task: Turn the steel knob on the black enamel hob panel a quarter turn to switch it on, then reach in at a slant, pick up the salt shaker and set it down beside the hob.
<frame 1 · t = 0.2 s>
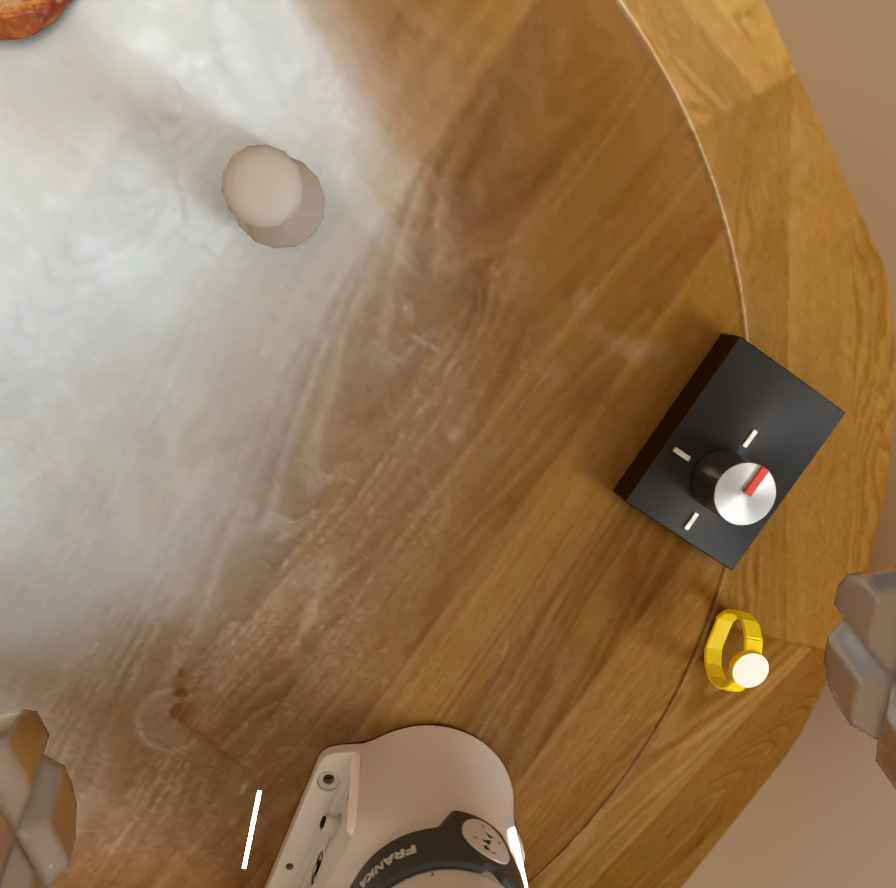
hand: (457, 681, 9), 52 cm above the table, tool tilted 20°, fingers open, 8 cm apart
salt shaker: (281, 204, 57), on the table
hob: (718, 448, 64), on the table
watch: (715, 633, 67), on the table
hob knob: (733, 487, 59), point 5 cm above the table, hinge at 0.0°
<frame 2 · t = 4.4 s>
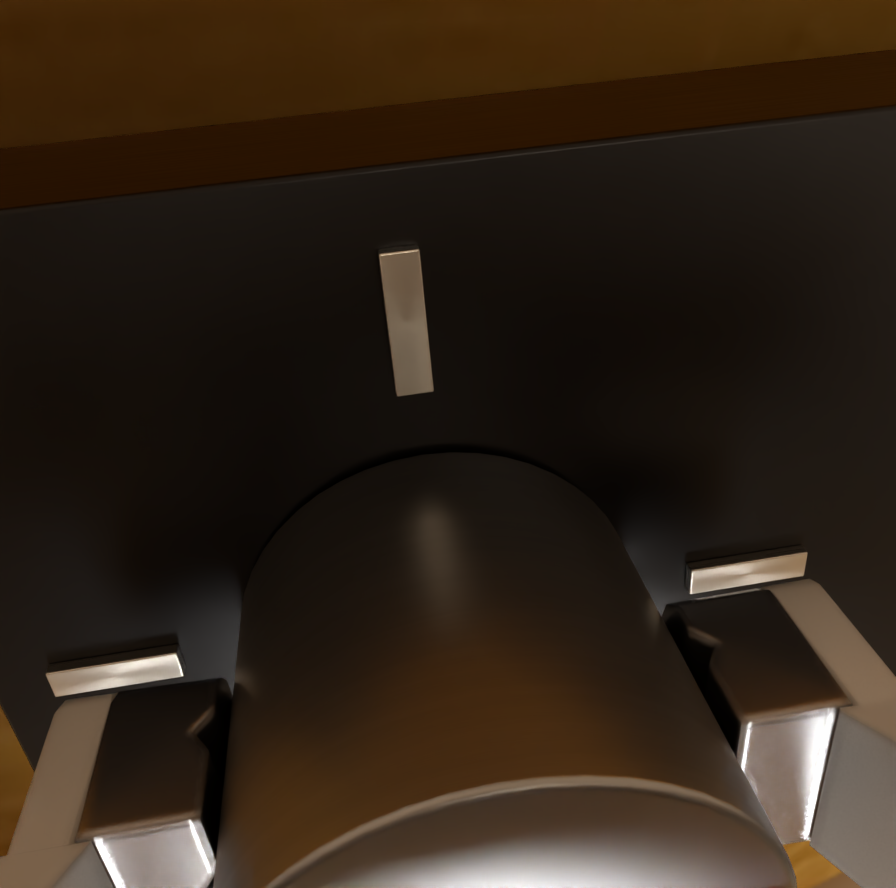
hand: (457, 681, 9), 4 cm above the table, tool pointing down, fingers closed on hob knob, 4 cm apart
hob: (547, 454, 12), on the table
hob knob: (471, 774, 8), point 5 cm above the table, hinge at 0.0°, touching gripper
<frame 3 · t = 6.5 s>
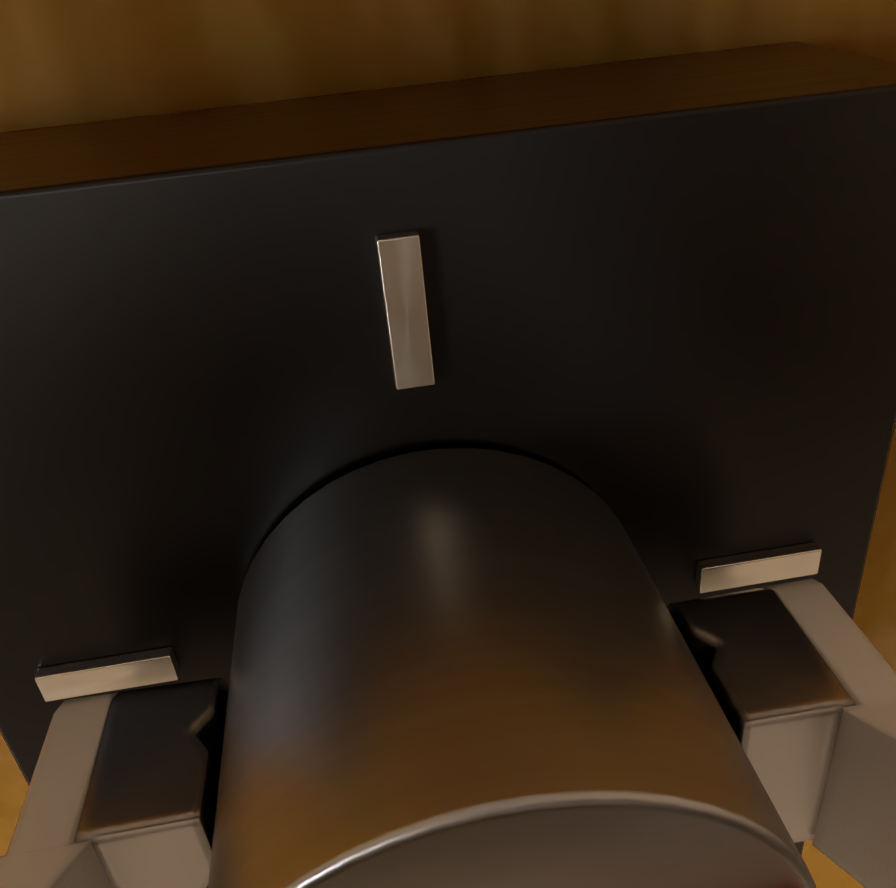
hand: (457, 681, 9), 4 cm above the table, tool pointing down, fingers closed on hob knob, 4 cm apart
hob: (427, 579, 13), on the table
hob knob: (475, 782, 7), point 5 cm above the table, hinge at 92.8°, touching gripper
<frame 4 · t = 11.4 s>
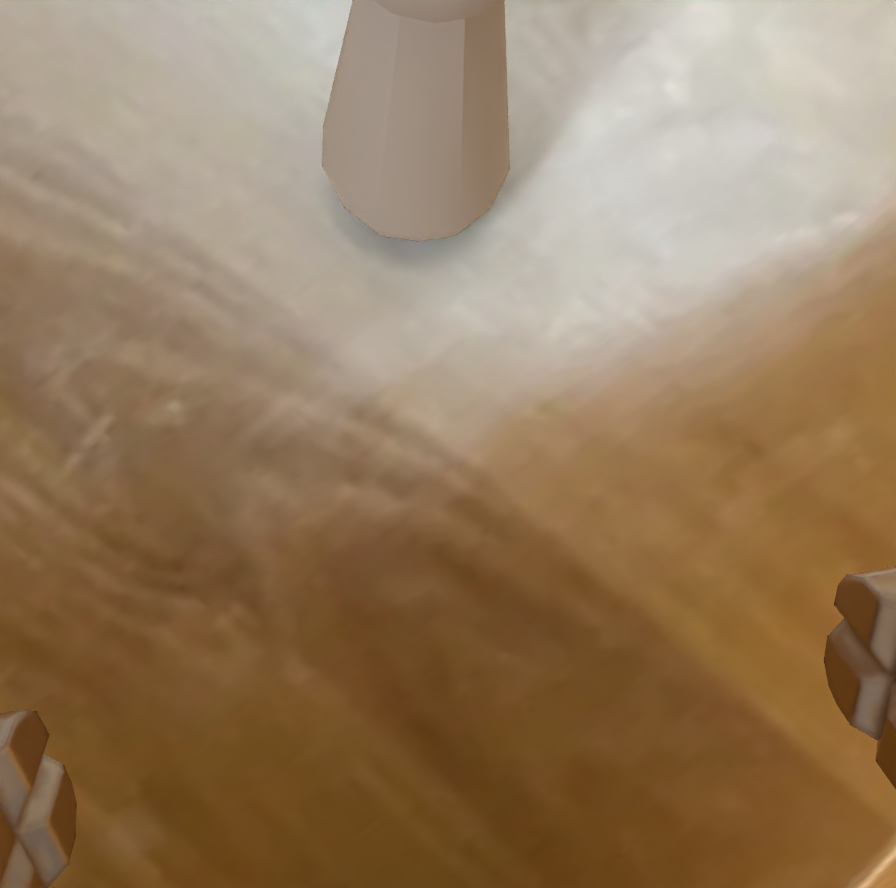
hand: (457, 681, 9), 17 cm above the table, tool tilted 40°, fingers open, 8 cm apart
salt shaker: (414, 188, 29), on the table
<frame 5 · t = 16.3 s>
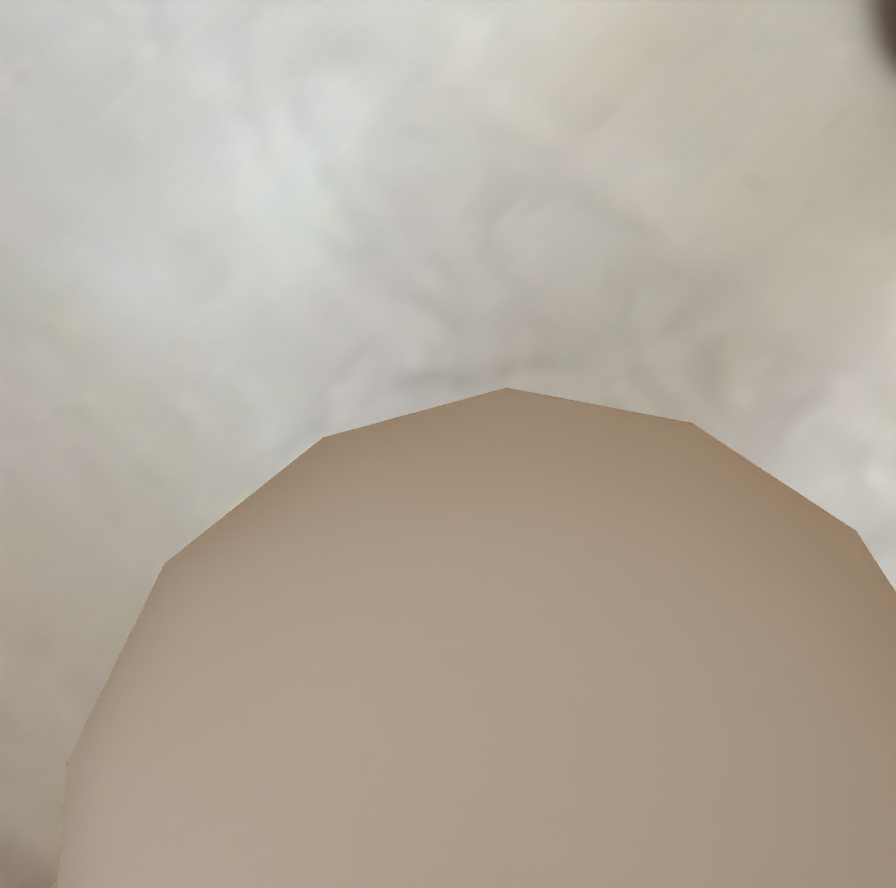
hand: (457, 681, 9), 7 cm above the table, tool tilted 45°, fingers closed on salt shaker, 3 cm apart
salt shaker: (440, 708, 16), on the table, touching gripper
when the fingers open (7 cm above the table, at t = 25.0 s): salt shaker stays where it is, on the table.
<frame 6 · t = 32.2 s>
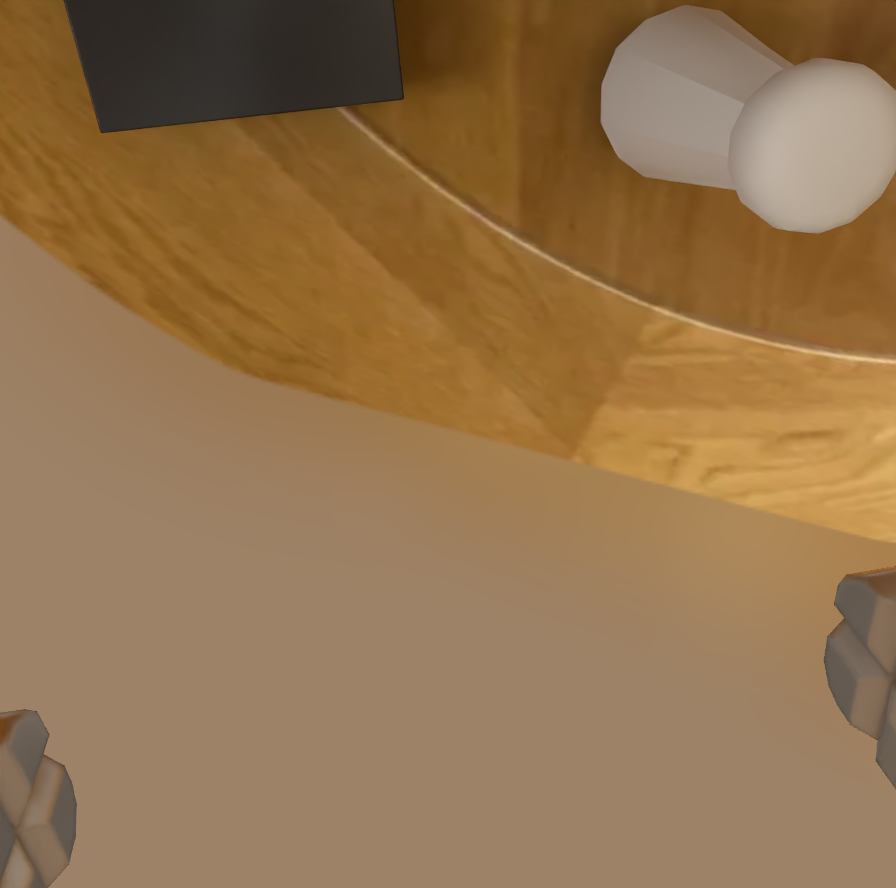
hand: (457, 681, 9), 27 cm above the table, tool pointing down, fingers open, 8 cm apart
salt shaker: (655, 86, 32), on the table
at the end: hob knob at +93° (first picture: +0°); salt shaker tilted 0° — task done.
